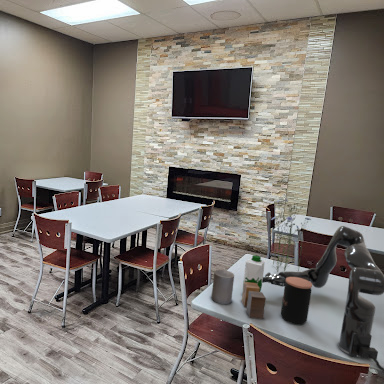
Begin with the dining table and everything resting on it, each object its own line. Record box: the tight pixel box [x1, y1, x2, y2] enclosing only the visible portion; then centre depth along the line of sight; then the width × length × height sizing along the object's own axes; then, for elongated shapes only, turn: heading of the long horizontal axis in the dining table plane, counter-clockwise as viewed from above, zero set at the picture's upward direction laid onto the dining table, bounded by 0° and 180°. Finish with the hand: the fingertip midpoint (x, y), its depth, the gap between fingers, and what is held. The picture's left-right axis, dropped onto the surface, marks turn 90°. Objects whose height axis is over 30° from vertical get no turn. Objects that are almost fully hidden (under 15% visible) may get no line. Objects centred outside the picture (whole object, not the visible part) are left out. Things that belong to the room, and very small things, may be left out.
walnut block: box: [246, 291, 267, 320], centre depth 153 cm, size 6×6×10 cm
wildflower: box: [270, 198, 312, 273], centre depth 207 cm, size 22×23×45 cm
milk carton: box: [242, 254, 265, 292], centre depth 173 cm, size 9×9×20 cm
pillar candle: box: [211, 269, 235, 305], centre depth 166 cm, size 10×10×15 cm
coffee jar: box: [280, 277, 313, 326], centre depth 150 cm, size 11×11×18 cm
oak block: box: [241, 282, 261, 308], centre depth 163 cm, size 6×6×10 cm
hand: (260, 279), depth 174 cm, fingers closed
